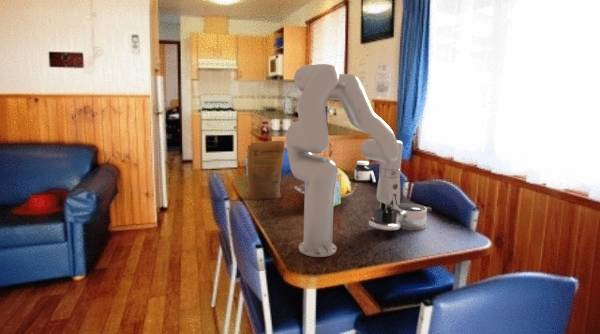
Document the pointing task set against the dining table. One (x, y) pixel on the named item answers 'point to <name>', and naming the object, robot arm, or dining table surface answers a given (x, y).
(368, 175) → the spread jar
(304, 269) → the dining table surface
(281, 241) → the dining table surface
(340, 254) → the dining table surface
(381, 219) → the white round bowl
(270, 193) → the pancake mix bag
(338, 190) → the snack box
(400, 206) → the pot
